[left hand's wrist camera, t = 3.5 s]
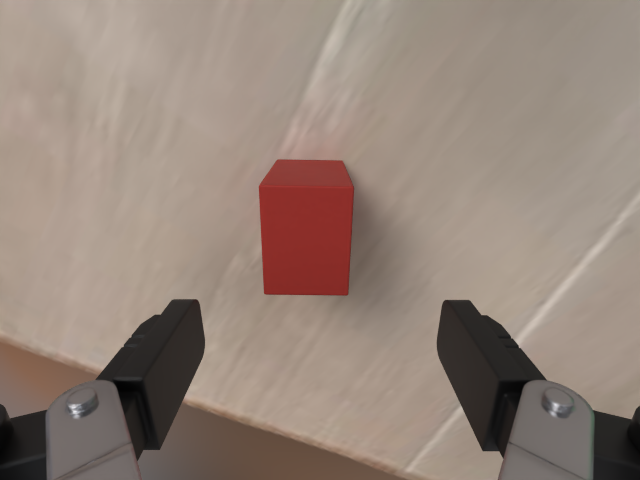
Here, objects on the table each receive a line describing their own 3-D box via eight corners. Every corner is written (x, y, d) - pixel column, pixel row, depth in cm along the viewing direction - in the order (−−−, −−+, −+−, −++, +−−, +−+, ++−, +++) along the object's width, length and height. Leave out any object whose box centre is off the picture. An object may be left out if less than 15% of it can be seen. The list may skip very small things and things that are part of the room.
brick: (342, 160, 24) (354, 186, 17) (339, 241, 27) (348, 296, 19) (276, 159, 24) (258, 185, 17) (279, 240, 27) (264, 295, 19)
